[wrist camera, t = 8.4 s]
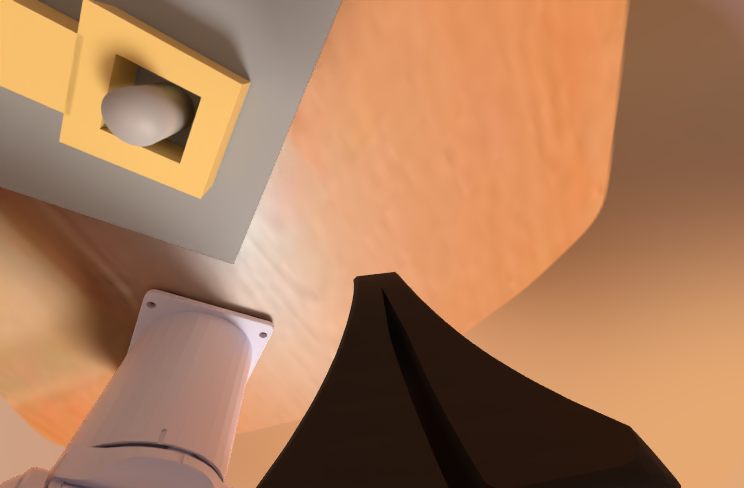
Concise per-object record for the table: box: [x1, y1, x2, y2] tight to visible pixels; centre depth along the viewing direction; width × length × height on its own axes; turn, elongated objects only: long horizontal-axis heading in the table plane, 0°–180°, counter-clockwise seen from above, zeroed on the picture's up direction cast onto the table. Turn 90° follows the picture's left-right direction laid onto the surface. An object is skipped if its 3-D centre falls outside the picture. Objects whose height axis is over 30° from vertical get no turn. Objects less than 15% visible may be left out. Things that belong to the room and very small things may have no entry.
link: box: [0, 0, 251, 199], centre depth 12 cm, size 14×5×2 cm, turn 60°
